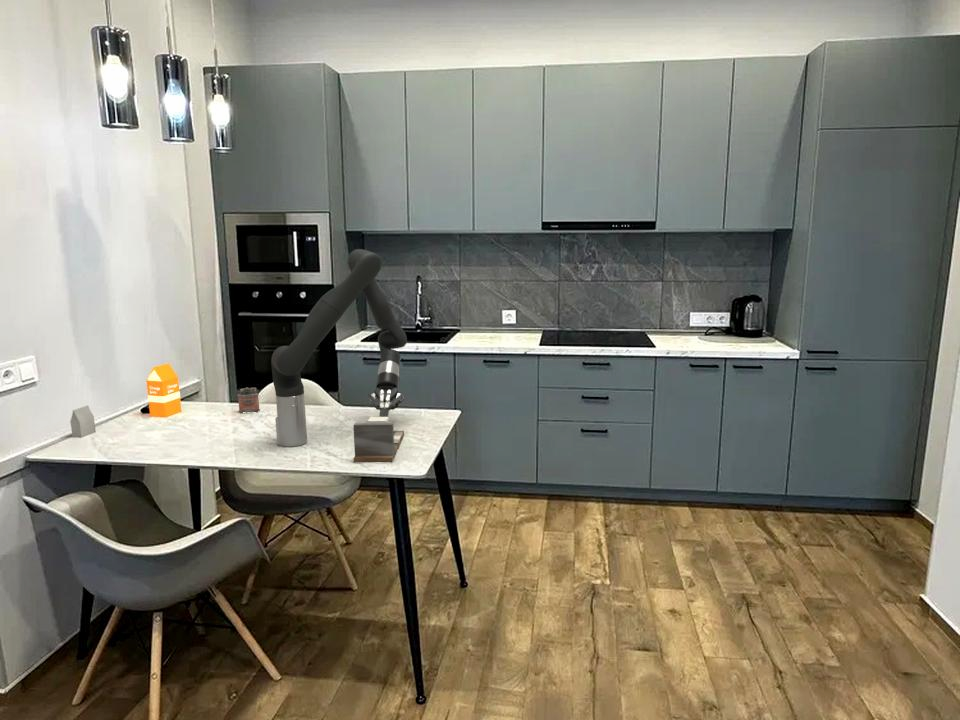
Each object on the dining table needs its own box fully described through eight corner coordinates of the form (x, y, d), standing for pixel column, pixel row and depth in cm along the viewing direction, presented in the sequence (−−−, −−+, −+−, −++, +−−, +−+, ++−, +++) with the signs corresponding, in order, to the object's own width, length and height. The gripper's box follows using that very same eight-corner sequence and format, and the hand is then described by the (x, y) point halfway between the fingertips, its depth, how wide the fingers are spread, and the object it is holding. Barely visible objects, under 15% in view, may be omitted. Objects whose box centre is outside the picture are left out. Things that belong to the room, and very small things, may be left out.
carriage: (371, 442, 217) (370, 416, 215) (398, 442, 217) (397, 416, 215) (367, 449, 210) (366, 423, 208) (395, 449, 210) (394, 422, 208)
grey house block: (95, 432, 239) (92, 405, 237) (81, 437, 233) (77, 410, 231) (87, 431, 240) (83, 405, 238) (72, 437, 233) (68, 410, 231)
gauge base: (370, 435, 231) (369, 403, 229) (404, 435, 230) (403, 403, 228) (353, 462, 203) (351, 427, 201) (392, 462, 203) (390, 426, 201)
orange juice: (149, 416, 259) (144, 367, 255) (166, 410, 268) (161, 362, 264) (166, 417, 257) (160, 367, 253) (182, 411, 265) (177, 363, 261)
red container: (238, 413, 261) (236, 389, 259) (239, 411, 264) (237, 387, 262) (259, 412, 263) (257, 388, 261) (260, 410, 266) (258, 386, 264)
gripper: (368, 371, 230) (362, 413, 221) (405, 370, 230) (401, 413, 220) (371, 382, 236) (366, 424, 227) (407, 382, 236) (404, 424, 226)
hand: (383, 419), depth 223 cm, fingers closed
